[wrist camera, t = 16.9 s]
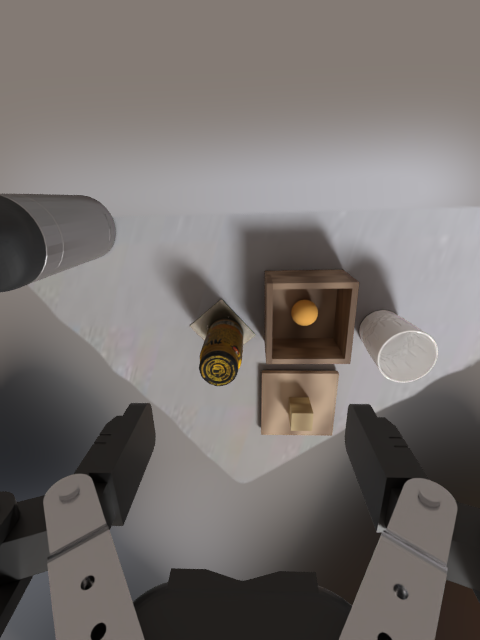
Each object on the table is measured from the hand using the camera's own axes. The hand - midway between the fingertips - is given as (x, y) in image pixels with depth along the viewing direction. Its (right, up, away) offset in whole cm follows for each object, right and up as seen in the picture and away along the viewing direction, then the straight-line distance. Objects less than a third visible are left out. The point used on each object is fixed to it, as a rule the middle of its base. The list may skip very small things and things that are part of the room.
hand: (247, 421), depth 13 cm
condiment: (-3, +3, +40) cm, 41 cm away
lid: (+10, -11, +44) cm, 46 cm away
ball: (+10, +6, +37) cm, 39 cm away
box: (+10, +6, +38) cm, 40 cm away
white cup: (+23, +3, +39) cm, 45 cm away
